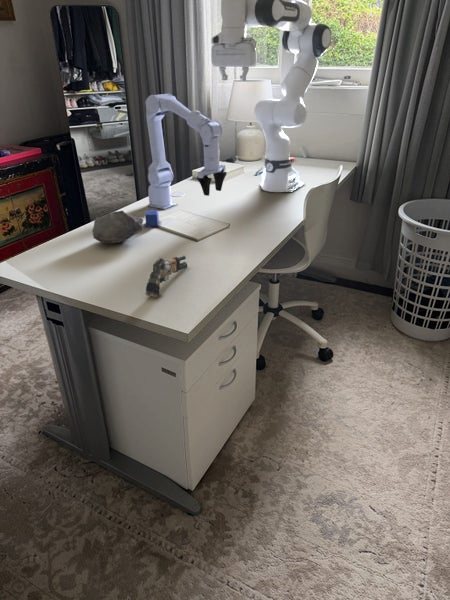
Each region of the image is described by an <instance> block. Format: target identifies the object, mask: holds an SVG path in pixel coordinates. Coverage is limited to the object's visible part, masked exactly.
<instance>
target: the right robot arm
mask: <svg viewBox="0 0 450 600" xmlns="http://www.w3.org/2000/svg"><path fill="white" fill-rule="evenodd" d="M220 15H221V20H222V21H221V22H222V23H221V27H220V29H221V31H220V32H219V33H217V34H215V35H214V36H212V37H211V40H210V41H211V44H212V46H211V51H210V52H211V53H210V55H211V56H210V58H211V59H210V61H211V65H212V66H213V67H218V68H219V72H220V74H221V80H222V81H228V80H229V77H228V76H229V75H228V74H227V72H226V70H227V68H230V67H231V68H241V71H242V73H241V75H239V81H240V82H246V81H247V75H248V73H249V70H250V68H255V67H256V66H257V64H258V54H257V42H256V40H255V39H254V38H253V37H252V36H249V37H248V36H247V28H251V29H252V28H273V27H275V28H276V29H278V30H280V31H282V32H283V34H282V37H281V43H282V44H281V45H282V48H283V50H284V51H285V52H286V53H289V54H297V56H296V59H295V61H294V62H293V64H292V65H291V67H290V69H289V71H288V72H287V74H286V75H285V76H284V78H283V81H282V82H281V93H282V94H283V96H284V97H283V98H281V99H278V98H277V99H276V98H265V99H261V100H259V101H257V103H256V104H255V106H254V110H253V114H254V116H253V117H254V119H255V121H256V122H257V123H258V124H259V126H260V127H261V129H262V132H263V135H264V139H265V158H264V168H263V169H262V170H263V171H262V174H261V182H260V188H261V190H263V191H265V192H269V193H292V192H294V191H296V190H297V189H299V188H301V187H303V186H304V182H302V181H300V173H299V171H297V170H296V169H295V167H293V166H292V163H295V161H296V158H295V157H290V155H291V139H290V138H289V137H288V136H287V135H286V134H285V132H284V129H283V128H287V129H291V128H300V127H301V126H303V124H304V123H305V122H306V120H307V114H308V111H307V107H306V105H305V104H304V96H305V95H306V93H307V91H308V89H309V87H310V84H312V81H313V79H314V77H315V75H316V72H317V70H318V69H317V68H318V65H319V64H318V63H319V61H318V59H320V58H321V57H323V55H324V54H325V52H327V50H328V48H329V47H330V45H331V43H332V31H331V28H330V26H329V25H327V24H324V23H311V22H312V18H313V11H312V8H311V6H310V5H309V4H308V3H307V2H305V1H303V0H221V1H220Z"/></svg>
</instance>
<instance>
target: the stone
mask: <svg viewBox="0 0 450 600" xmlns="http://www.w3.org/2000/svg"><path fill="white" fill-rule="evenodd" d="M143 223H144V218H143V217H141V216H135V215H133V214H129V213H127V212H124V210H119V211H111V212H109V213H107V214H105V215H101V216H100V217H99V216H97V217H95V219H94V222H93V228H92V230H91V231H92V236H93V239H94V240H96V241H98V242H100V243H108V244H119V243H124V242H126V241H128V240H129V239H130V238H132V237H134V236H135V235H137V234H139V233H140V232H142V231H143V229H144V225H143Z"/></svg>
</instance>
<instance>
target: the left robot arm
mask: <svg viewBox="0 0 450 600" xmlns="http://www.w3.org/2000/svg"><path fill="white" fill-rule="evenodd" d="M145 110H146V114H145V116H146V124H147V131H148V139H149V146H150V153H151V161H152V162H151V164H149V166H148V175H147V179H148V182H149V184H150V185H149V186H148V190H147V195H148V202H149V203H148V205H147V206H148V207H152V208H156V209H161V210H166V209H168V208H171V207H174V206H176V205H177V203H175V202H172V192H171V191H172V190H171V185H172V181H174V173H173V170H172V167H171V166H172V165H171V164H170V163H169V162H168V161H167V160H166V159H167V158H166V150H165V143H164V142H165V141H164V135H163V127H162V126H163V125H162V120H163V118H164V117H165V115H167V114H169V113H170V112H172V113H174V114H175V115H177V116H178V117H181V118H182V119H184V120H185V121H186V124H187V126H188V127H190V128H191V129H193V130H194V131H196V132H198V133H199V136H200V138H201V142H202V145H203V167H204V168H202V169H200V171H197V176H196V180H197V181H198V183H199V185H200V187H201V189H202V193H203V196H207V197H208V196H210V190H211V188H210V187H211V183H212V179H213V180H214V185H215V186H214V187H215V191H218V192H221V191H222V188H223V184H224V181H225V177H226V176H227V172H228V171H226V165H225V164H220V137H221V135H222V134H223V128H222V125H221V123H220V122H218V120H211V119H210V118H209V117H206V116H204V114H202V112H201V111H200V110H192V111H191V110H190V108H188V107H186V106H185V105H184V104H183V103H181V102H180V101H178V100H177V97H176V96H175V95H172V94H171V93H169V92H167V93H161V94H150V95H149V96H148V97H147V98H146V100H145ZM211 175H213V177H209V176H211Z"/></svg>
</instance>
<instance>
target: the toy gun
mask: <svg viewBox="0 0 450 600" xmlns="http://www.w3.org/2000/svg"><path fill="white" fill-rule="evenodd" d="M186 259H187V257H186V255H182V256H176V257H172V258H169V259H165V258H163V257H159V258H158V259H157V260H155V262H154V263H153V264H152V271H151V272H150V274H149V278H148V281H147V283H146V286H145V295H146V296H148V297H153V298H158V297H159V295H160V290H161V284H162V283H163V282H168V281H169V278H170V277H169V276H171V275H172V274H173V273H178V272H179V271H182V270H184V269H187V268H188V263H187V262H186V261H184V260H186ZM181 261H183V262H181Z"/></svg>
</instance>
